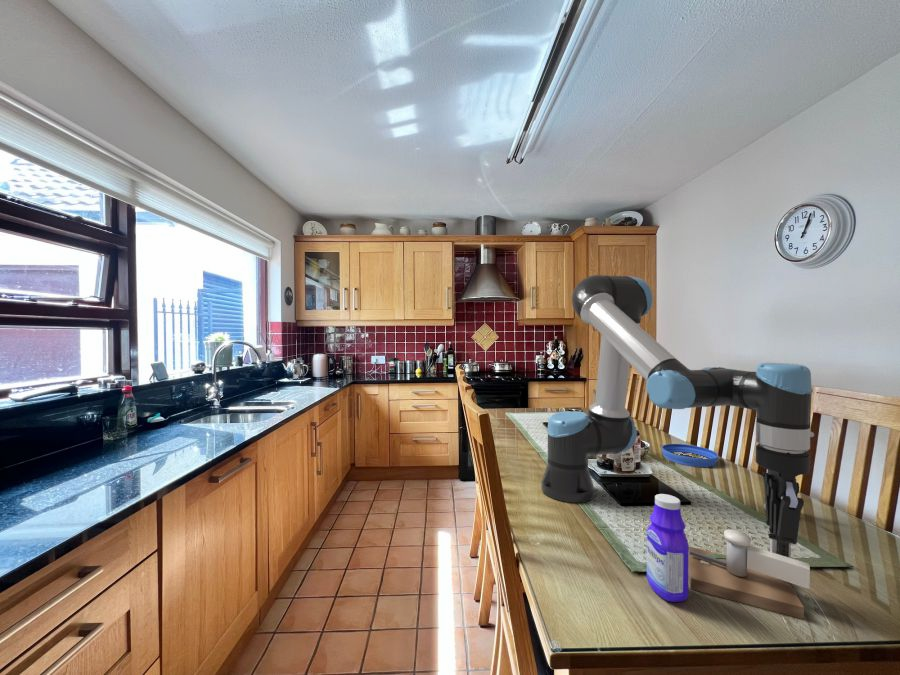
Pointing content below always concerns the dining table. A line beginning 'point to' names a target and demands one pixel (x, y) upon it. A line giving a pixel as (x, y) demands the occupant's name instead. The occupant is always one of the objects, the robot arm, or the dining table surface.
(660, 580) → the bottle
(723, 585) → the board
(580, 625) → the dining table surface
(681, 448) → the bowl
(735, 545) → the peg
